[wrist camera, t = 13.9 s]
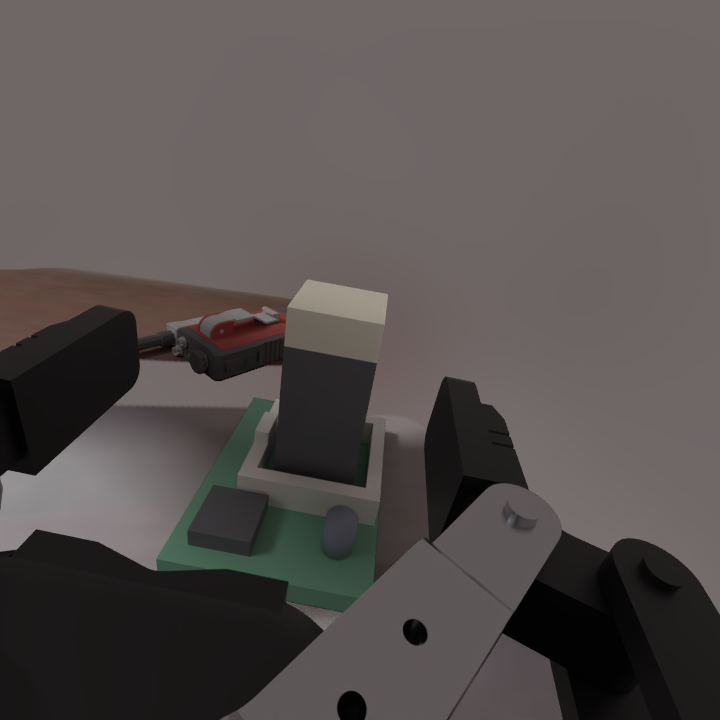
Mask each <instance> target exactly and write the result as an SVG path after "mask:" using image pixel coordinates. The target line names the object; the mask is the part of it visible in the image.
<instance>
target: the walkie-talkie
mask: <svg viewBox="0 0 720 720" xmlns="http://www.w3.org/2000/svg"><path fill="white" fill-rule="evenodd" d="M286 317H287V310H286V309H285V308H283V307H277V308H268V307H266V306H264V307H262V310H259V311H254V312H249V313H248V312H247V311H245V310H243V309H241V308H239V309H234V310H229V311H224V312H223V313H222V314H220V313H214V314H209V315H206V316H204V317H200V318H195V319H190V320H185V321H181V322H171V323H167V331H163V332H158V333H157V334H156V335H153V336H148V337H144V338H139V339H138V351H139V350H143V349H147V348H151V347H156V346H162V347H163V346H167V345H171V344H172V345H174V346H175V347H173V348H172V352H173V354H174V355H175V356H178V355H180V356H181V355H182V356H183V357H185V358H186V359H187V360H189V363H190V365H191V367H192V369H193V370H194V372H196V373H198V374H202V373H204V374H206V375H207V376H208V377H210V378H211V379H212V380H214V381H223V380H226V379H229V378H232V377H235V376H238V375H241V374H244V373H247V372H250V371H252V370H255V369H258V368H261V367H264V366H262V365H263V364H267V363H271V362H272V361H276V360H278V359H279V360H280V359H281V358H283V353H284V341H285V329H286Z"/></svg>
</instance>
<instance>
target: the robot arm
mask: <svg viewBox="0 0 720 720" xmlns="http://www.w3.org/2000/svg"><path fill="white" fill-rule="evenodd" d="M139 368H140V363H139V351H138V339H137V327H136V319H135V317H134V315H133V313H132V312H130V311H126V310H121V309H116V308H112V307H107V306H102V305H97V306H95V307H93V308H91V309H89V310H87V311H85V312H83V313H82V314H80V315H78V316H76V317H74V318H72V319H70V320H69V321H65V322H62V323H58V324H54V325H51V326H48V327H46V328H44V329H43V330H41V331H39V332H37V333H35V334H33V335H31V338H29V337H27V338H25V339H23V340H22V341H20V342H18V343H16V346H13V345H12V346H10V347H8V348H6V349H4V350H2V351H1V352H0V476H1V475H3V474H4V473H5V472H6V471H7V470H11V471H15V472H20V473H25V474H30V475H37V474H38V473H39V472H40V471H41V470H42V469H43V468H44V467H45V466H46V465H48V464H49V463H50V462H51V461H52V460H53V459H54V458H55V457H56V456H57V455H59V454H60V453H61V452H62V451H63V450H64V449H65V448H66V447H67V446H68V445H70V444H71V443H72V442H73V441H74V440H75V439H76V438H77V437H78V436H79V435H81V434H82V433H83V432H84V431H85V430H86V429H87V428H88V427H89V426H91V425H92V424H93V423H94V422H95V421H96V420H97V419H98V418H99V417H100V416H102V415H103V414H104V413H105V412H106V411H107V410H108V409H109V408H110V407H111V406H113V405H114V404H115V403H116V402H117V401H118V400H119V399H120V398H121V397H122V396H124V394H126V393H127V392H128V391H129V390H130V389H131V388H132V387H133V386H134V384H135V382H136V380H137V378H138V374H139ZM424 453H425V470H426V488H427V505H428V523H429V540H430V541H429V540H428V539H427V538H424V539H421V540H420V541H418V542H417V543H416V544H415V545H414V546H412V547H411V548H410V549H409V550H408V551H407V552H406V553H405V554H404V555H403V556H402V557H401V558H400V559H399V560H398V561H397V562H396V563H395V564H394V565H393V566H391V567H390V568H389V569H388V570H387V571H386V572H385V573H384V574H383V575H382V576H381V577H380V578H379V579H378V580H377V581H376V582H375V583H374V584H373V585H372V586H371V587H370V588H368V589H367V590H366V591H365V592H364V593H363V594H362V595H361V596H360V597H359V598H358V599H357V600H356V601H355V602H354V603H353V604H352V605H351V606H350V607H349V608H348V609H346V610H345V611H344V612H343V613H342V614H341V615H340V616H339V617H338V618H337V619H336V620H335V621H334V622H333V623H332V624H331V625H330V626H329V627H328V628H327V629H326V630H325V631H323V630H322V629H321V628H320V627H319V626H318V625H317V624H316V623H315V622H314V621H313V620H312V619H311V618H309V617H308V616H307V615H305V614H304V613H302V612H301V611H300V610H298V609H297V608H295V607H293V606H291V605H289V604H287V603H286V597H287V590H288V584H289V581H284V580H279V579H274V578H270V577H265V576H260V575H255V574H250V573H245V572H240V571H236V570H231V569H204V570H177V571H154V570H150V569H148V568H146V567H144V566H142V565H140V564H138V563H136V562H134V561H133V560H131V559H129V558H127V557H125V556H123V555H121V554H119V553H118V552H116V551H114V550H112V549H110V548H108V547H106V546H104V545H103V544H101V543H99V542H95V541H90V540H85V539H80V538H76V537H71V536H66V535H61V534H56V533H51V532H46V531H42V530H37V529H36V530H35V531H34V532H33V533H32V534H31V535H30V536H29V537H28V538H27V540H26V541H25V542H24V543H23V544H22V545H21V546H20V547H19V548H18V549H17V550H10V551H3V552H0V720H449V719H450V718H451V716H452V714H453V713H454V711H455V709H456V708H457V706H458V705H459V703H460V701H461V700H462V698H463V696H464V695H465V693H466V692H467V690H468V688H469V687H470V685H471V683H472V682H473V680H474V679H475V677H476V675H477V674H478V672H479V671H480V669H481V667H482V666H483V664H484V662H485V661H486V659H487V658H488V656H489V654H490V653H491V651H492V649H493V648H494V646H495V645H496V643H497V641H498V640H499V638H500V637H501V635H502V633H503V634H505V635H507V636H508V637H510V638H512V639H514V640H516V641H518V642H519V643H521V644H523V645H525V646H527V647H528V648H530V649H532V650H534V651H536V652H538V653H539V654H541V655H543V656H545V657H547V658H548V659H550V663H551V668H552V672H553V677H554V681H555V686H556V690H557V695H558V699H559V704H560V708H561V713H562V717H563V720H720V615H719V613H718V611H717V610H716V608H715V606H714V605H713V603H712V601H711V600H710V598H709V596H708V595H707V593H706V592H705V590H704V588H703V586H702V585H701V583H700V582H699V581H698V580H697V578H696V577H695V576H694V574H693V573H692V572H691V571H690V570H689V569H688V568H687V567H686V566H685V565H683V564H682V563H681V562H680V561H679V560H678V559H676V558H675V557H674V556H672V555H671V554H669V553H668V552H666V551H665V550H663V549H661V548H659V547H657V546H655V545H653V544H650V543H649V542H646V541H642V540H638V539H631V538H627V539H622V540H620V541H618V542H617V543H615V545H614V546H613V548H612V549H611V551H610V552H607V551H604V550H602V549H600V548H598V547H595V546H593V545H591V544H589V543H587V542H585V541H582V540H580V539H578V538H576V537H574V536H572V535H570V534H568V533H566V532H564V531H563V530H562V529H561V524H560V521H559V519H558V516H557V515H556V513H555V512H554V510H553V509H552V508H551V507H550V506H549V505H548V503H546V502H545V501H544V500H543V499H542V498H540V497H539V496H538V495H536V494H535V493H533V492H531V491H529V489H528V486H527V483H526V480H525V477H524V475H523V472H522V469H521V466H520V463H519V460H518V457H517V455H516V452H515V450H514V449H513V443H512V440H511V437H509V431H508V429H507V426H506V423H505V420H504V419H503V418H502V416H501V415H500V414H499V413H498V412H497V411H496V410H495V409H494V407H493V406H491V405H486V404H482V403H481V402H480V398H479V395H478V391H477V388H476V385H475V383H474V382H470V381H465V380H460V379H456V378H450V377H445V378H444V379H443V381H442V383H441V386H440V389H439V392H438V395H437V398H436V401H435V405H434V408H433V411H432V414H431V417H430V420H429V424H428V427H427V431H426V436H425V444H424ZM2 492H3V486H2V483H1V480H0V509H1V500H2Z"/></svg>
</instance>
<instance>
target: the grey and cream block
mask: <svg viewBox="0 0 720 720" xmlns="http://www.w3.org/2000/svg"><path fill="white" fill-rule="evenodd" d="M387 298H388V294H384V293H378V292H373V291H367V290H362V289H356V288H351V287H345V286H340V285H334V284H329V283H324V282H318V281H313V280H307V281H306V282H305V284H304V285H303V287H302V288H301V289H300V290H299V292H298V293H297V295H296V296H295V297H294V299H293V300H292V301H291V303H290V304H289V305H288V307H287V317H286V329H285V341H284V353H283V365H282V377H281V390H280V401H279V412H278V424H277V436H276V448H275V460H274V471H279V472H284V473H289V474H294V475H300V476H305V477H310V478H315V479H321V480H326V481H331V482H336V483H342V484H347V485H353V480H354V475H355V470H356V465H357V460H358V455H359V450H360V445H361V440H362V435H363V430H364V425H365V420H366V415H367V410H368V405H369V400H370V395H371V389H372V385H373V380H374V375H375V370H376V365H377V360H378V355H379V349H380V345H381V340H382V335H383V330H384V325H385V317H386V306H387Z"/></svg>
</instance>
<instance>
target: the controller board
mask: <svg viewBox="0 0 720 720" xmlns="http://www.w3.org/2000/svg"><path fill="white" fill-rule="evenodd" d="M279 401H280V399H276V400H275V401H270V400H265V399H259V398H254V399H253V400H252V402H251V404H250V405H249V407H248V409H247V410H246V412H245V414H244V415H243V417H242V419H241V420H240V422H239V424H238V425H237V427H236V428H235V430H234V432H233V433H232V435H231V437H230V438H229V440H228V442H227V443H226V445H225V447H224V448H223V450H222V452H221V453H220V455H219V457H218V458H217V460H216V461H215V463H214V465H213V466H212V468H211V470H210V471H209V473H208V475H207V476H206V478H205V480H204V481H203V483H202V485H201V486H200V488H199V490H198V491H197V493H196V494H195V496H194V498H193V499H192V501H191V503H190V504H189V506H188V508H187V509H186V511H185V513H184V514H183V516H182V518H181V519H180V521H179V523H178V524H177V526H176V527H175V529H174V531H173V532H172V534H171V536H170V537H169V539H168V541H167V542H166V544H165V546H164V547H163V549H162V551H161V552H160V554H159V556H158V557H157V559H156V561H157V571H177V570H204V569H231V570H236V571H240V572H245V573H250V574H255V575H260V576H265V577H270V578H274V579H279V580H284V581H289V584H288V590H287V597H286V601H289V602H294V603H300V604H305V605H310V606H315V607H320V608H325V609H331V610H336V611H341V612H344V611H345V610H346V609H348V608H349V607H350V606H351V605H352V604H353V603H354V602H355V601H356V600H357V599H358V598H359V597H360V596H361V595H362V594H363V593H364V592H365V591H366V590H367V589H368V588H370V587H371V586H372V585H373V584H374V570H375V557H376V543H377V529H378V515H379V504H380V494H381V480H382V466H383V452H384V437H385V423H386V419H384V418H379V417H373V416H368V415H366V420H365V425H364V430H363V435H362V440H361V445H360V450H359V455H358V460H357V465H356V470H355V475H354V480H353V485H347V484H342V483H336V482H331V481H326V480H321V479H315V478H310V477H305V476H300V475H294V474H289V473H284V472H279V471H274V460H275V448H276V436H277V424H278V412H279Z"/></svg>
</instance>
